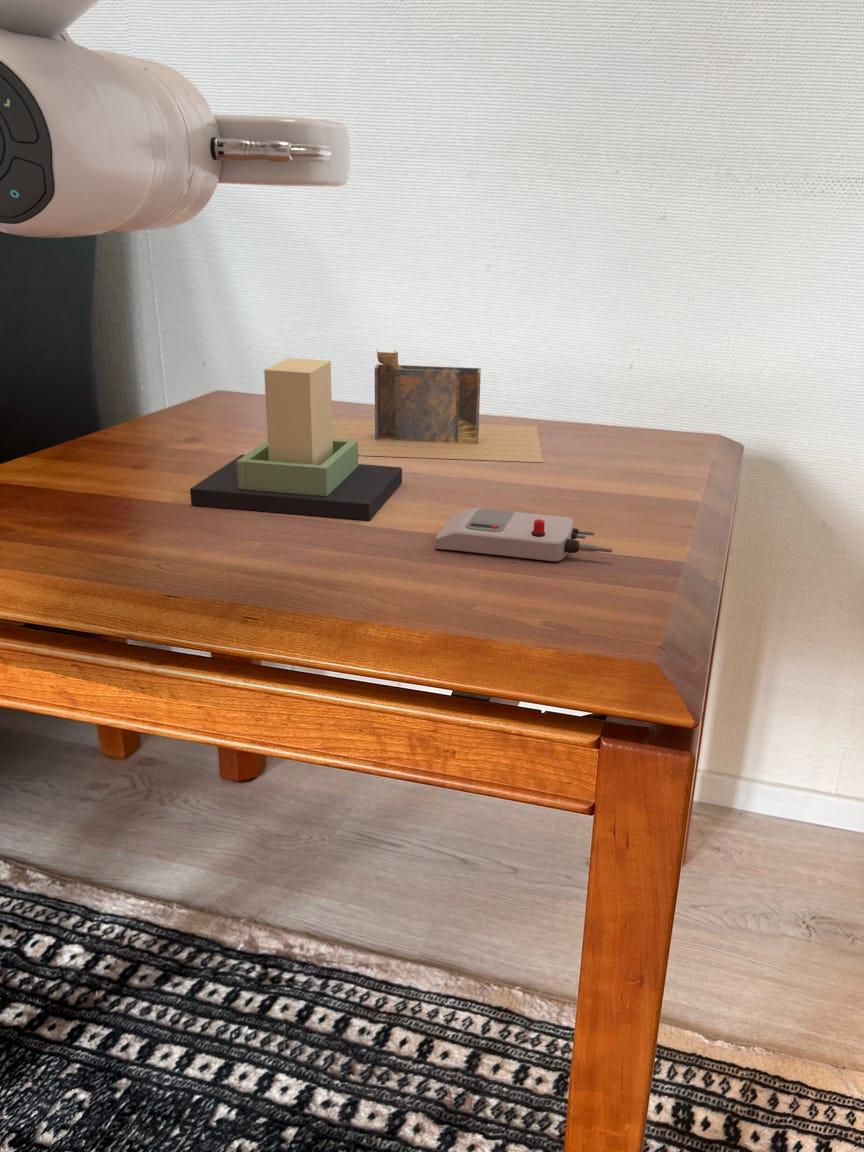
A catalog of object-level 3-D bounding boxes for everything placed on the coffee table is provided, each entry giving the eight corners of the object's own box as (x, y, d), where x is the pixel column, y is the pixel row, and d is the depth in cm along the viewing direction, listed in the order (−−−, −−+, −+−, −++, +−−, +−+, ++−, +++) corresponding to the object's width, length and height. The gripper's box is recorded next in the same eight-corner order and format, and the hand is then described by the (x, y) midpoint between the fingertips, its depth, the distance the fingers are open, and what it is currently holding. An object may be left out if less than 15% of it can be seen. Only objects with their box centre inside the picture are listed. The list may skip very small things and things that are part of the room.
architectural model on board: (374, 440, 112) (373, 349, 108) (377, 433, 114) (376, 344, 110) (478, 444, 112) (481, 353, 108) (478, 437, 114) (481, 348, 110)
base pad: (190, 505, 89) (187, 460, 87) (242, 469, 99) (239, 428, 98) (369, 520, 87) (369, 474, 85) (402, 482, 97) (402, 441, 96)
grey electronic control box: (433, 522, 87) (434, 487, 86) (617, 541, 84) (620, 506, 83) (412, 547, 81) (412, 511, 80) (609, 569, 78) (612, 531, 77)
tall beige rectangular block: (269, 484, 90) (263, 369, 86) (292, 467, 95) (287, 358, 91) (313, 488, 89) (309, 372, 85) (333, 470, 95) (330, 360, 91)
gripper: (312, 87, 55) (376, 104, 68) (-35, 78, 58) (88, 95, 70) (315, 213, 58) (377, 207, 70) (-16, 198, 61) (99, 195, 73)
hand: (230, 151), depth 70 cm, fingers open, 8 cm apart
